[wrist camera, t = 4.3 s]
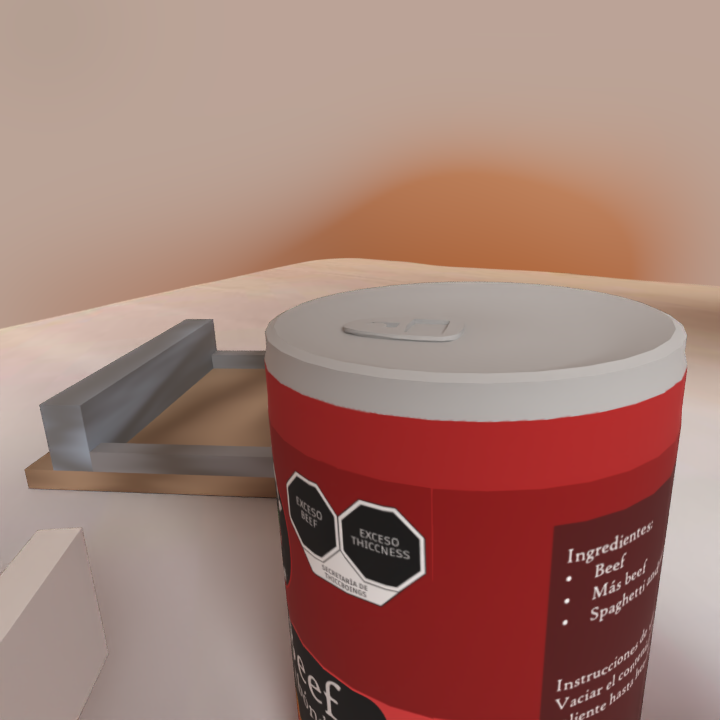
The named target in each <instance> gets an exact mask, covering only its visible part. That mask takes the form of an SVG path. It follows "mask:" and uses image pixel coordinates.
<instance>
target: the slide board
mask: <svg viewBox="0 0 720 720" xmlns="http://www.w3.org/2000/svg"><path fill="white" fill-rule="evenodd" d="M265 353H266V351H217V348H216V340H215V331H214V323H213V319H186V320H184V321H182V322H181V323H179V324H177V325H176V326H174V327H172V328H170V329H169V330H167V331H165V332H164V333H162V334H160V335H158V336H157V337H155V338H153V339H152V340H150V341H148V342H146V343H145V344H143V345H141V346H140V347H138V348H136V349H134V350H133V351H131V352H129V353H127V354H126V355H124V356H122V357H121V358H119V359H117V360H115V361H114V362H112V363H110V364H109V365H107V366H105V367H103V368H102V369H100V370H98V371H97V372H95V373H93V374H91V375H90V376H88V377H86V378H85V379H83V380H81V381H79V382H78V383H76V384H74V385H73V386H71V387H69V388H67V389H66V390H64V391H62V392H60V393H59V394H57V395H55V396H54V397H52V398H50V399H48V400H47V401H45V402H43V403H42V404H40V405H39V406H40V411H41V415H42V420H43V424H44V429H45V433H46V438H47V443H48V447H49V452H48V453H47V454H45V455H44V456H43V457H41V458H40V459H38V460H37V461H36V462H34V463H33V464H31V465H30V466H29V467H27V468H26V469H25V474H26V478H27V482H28V486H29V488H35V489H62V490H88V491H114V492H141V493H167V494H194V495H220V496H247V497H273V498H277V496H276V486H275V476H274V466H273V456H272V447H271V437H270V426H269V416H268V393H267V383H266V372H265V361H264V358H265Z"/></svg>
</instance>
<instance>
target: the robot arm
mask: <svg viewBox="0 0 720 720" xmlns="http://www.w3.org/2000/svg"><path fill="white" fill-rule="evenodd" d="M108 654H109V653H108V648H107V644H106V639H105V634H104V629H103V625H102V620H101V615H100V610H99V606H98V601H97V596H96V591H95V587H94V582H93V577H92V573H91V568H90V563H89V558H88V554H87V549H86V544H85V539H84V535H83V530H82V528H65V529H48V530H37V532H36V533H35V534H34V535H33V536H32V538H31V539H30V540H29V541H28V542H27V544H26V545H25V546H24V547H23V549H22V550H21V551H20V552H19V553H18V555H17V556H16V557H15V558H14V559H13V561H12V562H11V563H10V564H9V565H8V567H7V568H6V569H5V570H4V572H3V573H2V574H1V575H0V720H78V718H79V716H80V714H81V712H82V710H83V708H84V705H85V703H86V701H87V699H88V697H89V695H90V693H91V690H92V688H93V686H94V684H95V682H96V680H97V678H98V675H99V673H100V671H101V669H102V667H103V665H104V663H105V660H106V658H107V656H108Z"/></svg>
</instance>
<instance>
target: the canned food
mask: <svg viewBox="0 0 720 720" xmlns="http://www.w3.org/2000/svg"><path fill="white" fill-rule="evenodd" d="M265 336H266V353H265V358H264V361H265V372H266V383H267V393H268V416H269V426H270V436H271V446H272V456H273V466H274V476H275V486H276V496H277V506H278V516H279V526H280V536H281V546H282V556H283V566H284V576H285V586H286V596H287V606H288V616H289V626H290V636H291V646H292V657H293V667H294V677H295V687H296V697H297V707H298V717H299V720H640V717H641V710H642V703H643V696H644V688H645V681H646V674H647V667H648V660H649V652H650V645H651V638H652V631H653V624H654V617H655V609H656V602H657V595H658V588H659V581H660V573H661V566H662V559H663V552H664V545H665V537H666V530H667V523H668V516H669V509H670V502H671V494H672V487H673V480H674V473H675V466H676V458H677V451H678V444H679V437H680V430H681V416H682V404H683V396H684V389H685V381H686V373H687V361H686V356H685V348H686V340H687V334H686V331H685V329H684V327H683V325H682V324H681V323H680V322H678V321H677V320H676V319H674V318H673V317H672V316H670V315H668V314H666V313H664V312H662V311H660V310H658V309H655V308H653V307H651V306H648V305H646V304H644V303H641V302H637V301H634V300H630V299H627V298H624V297H620V296H615V295H610V294H606V293H601V292H596V291H589V290H583V289H576V288H569V287H560V286H550V285H540V284H525V283H508V282H437V283H417V284H404V285H392V286H383V287H375V288H367V289H361V290H355V291H349V292H343V293H338V294H334V295H330V296H325V297H321V298H318V299H315V300H311V301H308V302H305V303H302V304H300V305H298V306H296V307H294V308H291V309H289V310H287V311H285V312H283V313H281V314H280V315H278V316H277V317H276V318H274V319H273V320H272V321H271V322H269V324H268V327H267V329H266V331H265Z"/></svg>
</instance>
